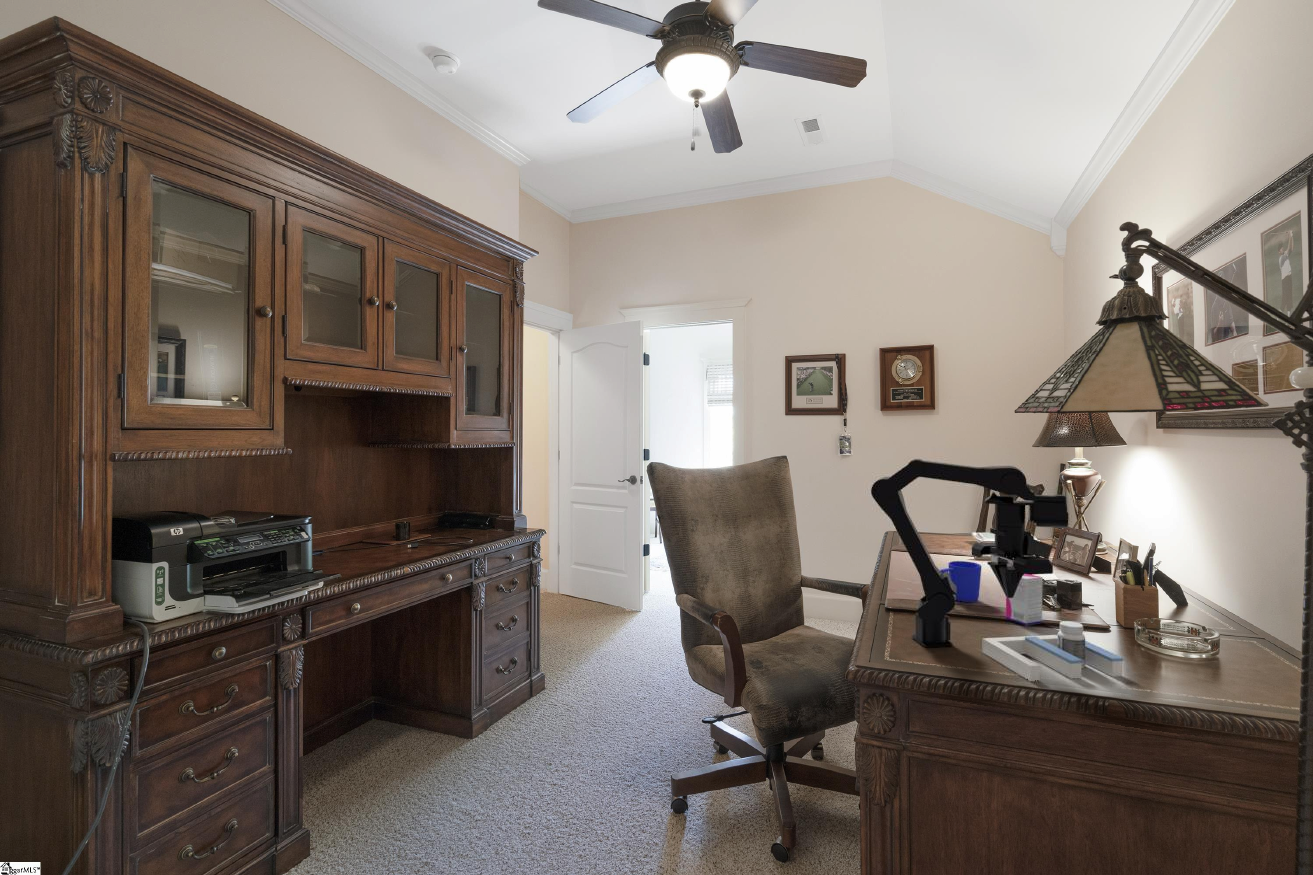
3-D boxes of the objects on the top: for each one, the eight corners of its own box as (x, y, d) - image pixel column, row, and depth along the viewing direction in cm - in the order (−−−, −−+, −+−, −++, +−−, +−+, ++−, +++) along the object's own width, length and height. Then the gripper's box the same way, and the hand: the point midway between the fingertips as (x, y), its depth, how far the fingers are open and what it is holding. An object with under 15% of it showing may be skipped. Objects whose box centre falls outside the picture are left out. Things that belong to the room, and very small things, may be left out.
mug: (930, 598, 173) (930, 563, 173) (965, 594, 177) (965, 559, 176) (952, 607, 165) (952, 570, 165) (988, 602, 169) (988, 566, 169)
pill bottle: (1091, 667, 125) (1091, 626, 124) (1071, 670, 124) (1071, 628, 123) (1070, 659, 129) (1071, 619, 129) (1051, 661, 128) (1052, 621, 128)
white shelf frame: (1030, 681, 119) (1030, 662, 119) (982, 652, 134) (982, 635, 134) (1123, 676, 120) (1123, 657, 120) (1065, 647, 135) (1065, 631, 135)
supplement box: (1043, 622, 152) (1043, 576, 152) (1026, 626, 150) (1026, 579, 149) (1021, 615, 157) (1021, 571, 157) (1004, 618, 155) (1004, 573, 155)
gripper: (1078, 531, 124) (1078, 609, 124) (1016, 517, 142) (1016, 584, 143) (1026, 533, 123) (1025, 611, 123) (970, 518, 141) (970, 586, 142)
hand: (1009, 597), depth 133 cm, fingers closed
